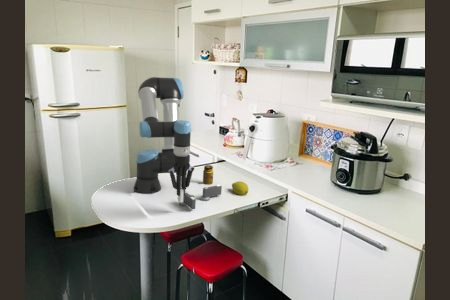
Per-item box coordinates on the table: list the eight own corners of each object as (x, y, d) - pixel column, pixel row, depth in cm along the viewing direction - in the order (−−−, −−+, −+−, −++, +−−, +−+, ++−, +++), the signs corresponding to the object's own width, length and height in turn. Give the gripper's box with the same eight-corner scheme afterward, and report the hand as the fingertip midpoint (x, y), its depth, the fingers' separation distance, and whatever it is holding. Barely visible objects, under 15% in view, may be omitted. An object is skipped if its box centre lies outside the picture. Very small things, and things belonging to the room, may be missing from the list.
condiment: (215, 186, 196) (216, 167, 193) (203, 188, 191) (204, 169, 188) (209, 182, 202) (210, 163, 198) (197, 184, 197) (198, 165, 194)
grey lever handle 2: (203, 201, 170) (204, 190, 168) (199, 198, 174) (199, 187, 172) (222, 197, 177) (223, 186, 175) (217, 194, 181) (218, 183, 179)
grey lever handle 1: (178, 202, 167) (178, 191, 165) (186, 201, 170) (186, 189, 168) (189, 212, 158) (189, 200, 156) (197, 210, 160) (198, 198, 158)
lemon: (251, 196, 184) (252, 183, 181) (240, 199, 179) (242, 186, 177) (238, 190, 192) (239, 177, 189) (228, 193, 187) (229, 180, 185)
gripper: (172, 158, 143) (171, 206, 149) (198, 154, 150) (196, 201, 156) (165, 153, 149) (164, 201, 155) (190, 150, 156) (188, 196, 162)
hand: (180, 201), depth 156 cm, fingers closed
